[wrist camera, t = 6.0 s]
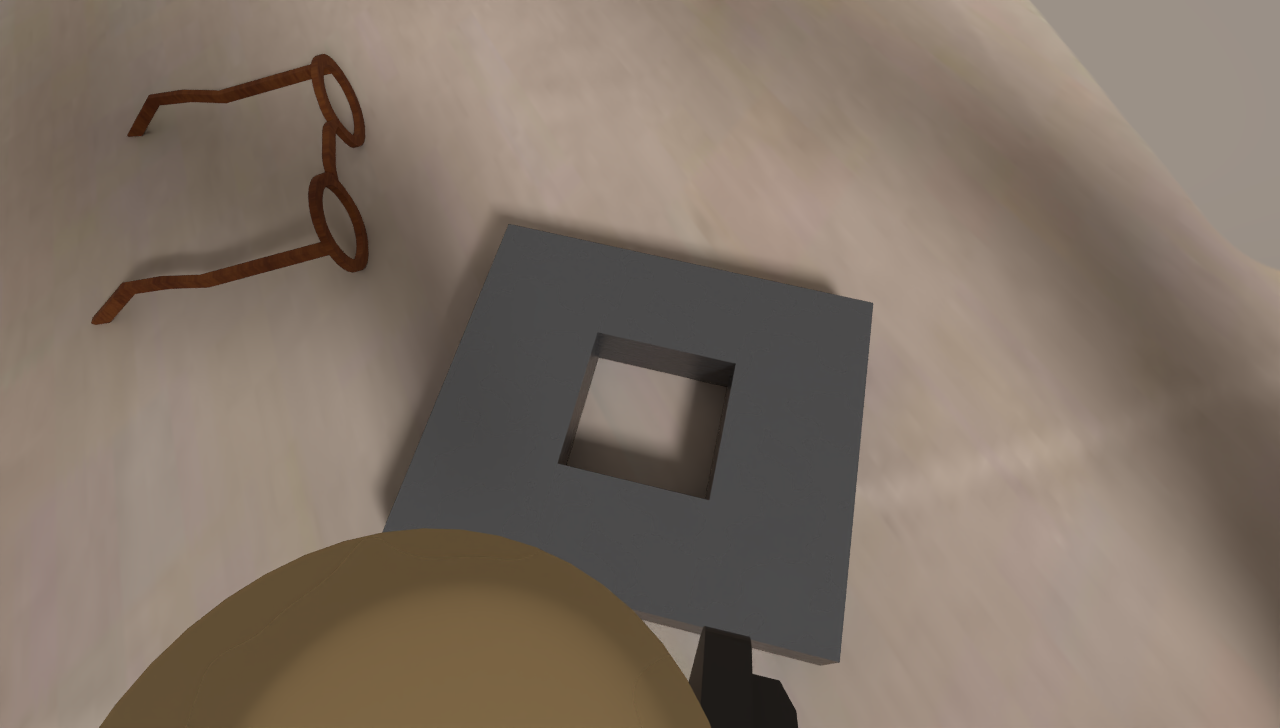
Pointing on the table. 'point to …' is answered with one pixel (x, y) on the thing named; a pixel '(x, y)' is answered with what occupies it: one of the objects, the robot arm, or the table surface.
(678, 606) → the plate
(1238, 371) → the table surface
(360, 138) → the glasses
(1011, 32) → the table surface
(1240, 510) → the table surface
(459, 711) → the tan mottled cylinder
